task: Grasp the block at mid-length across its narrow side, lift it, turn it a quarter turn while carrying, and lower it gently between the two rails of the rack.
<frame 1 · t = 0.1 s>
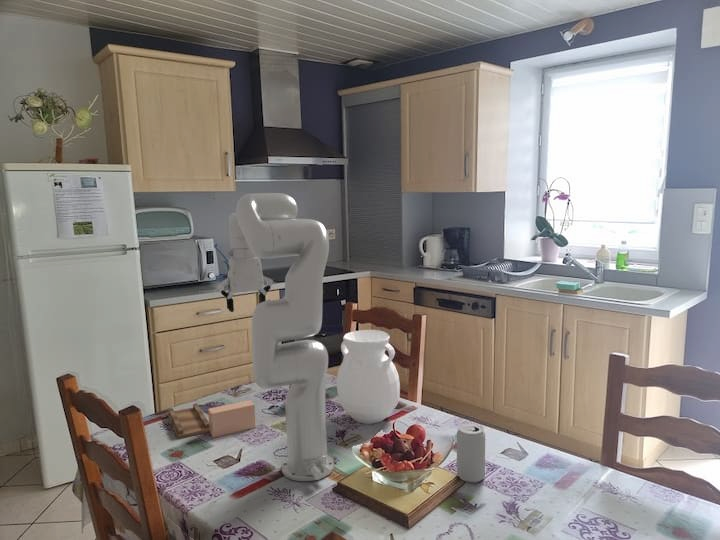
hand: (246, 309, 164), 31 cm above the table, fingers open, 9 cm apart
beverage can: (470, 477, 124), on the table
block: (232, 430, 152), on the table
tin: (302, 402, 171), on the table
rack: (188, 423, 157), on the table
white vase: (369, 418, 158), on the table
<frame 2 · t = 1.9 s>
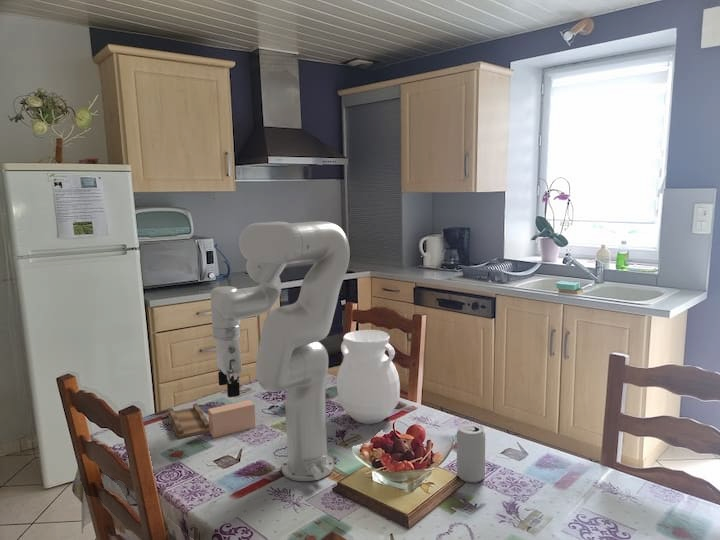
hand: (229, 390, 150), 12 cm above the table, fingers open, 9 cm apart
nothing on the table moved.
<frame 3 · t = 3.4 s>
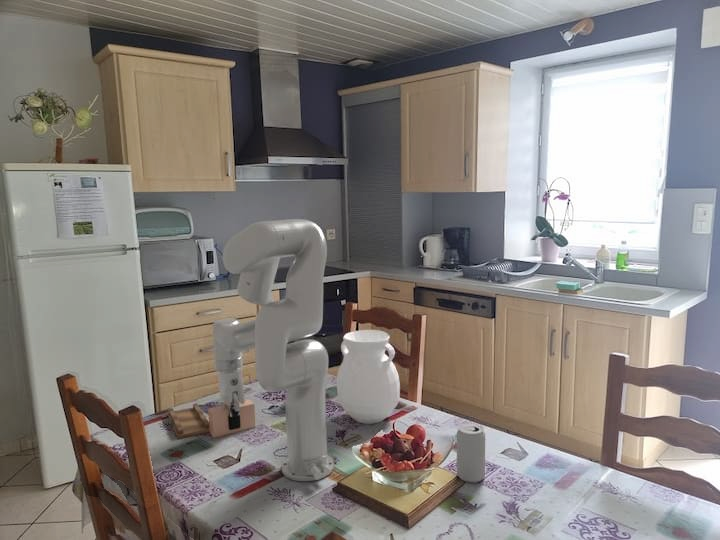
hand: (232, 424, 152), 1 cm above the table, fingers closed on block, 4 cm apart
block: (232, 429, 152), on the table, touching gripper
everything else where it was.
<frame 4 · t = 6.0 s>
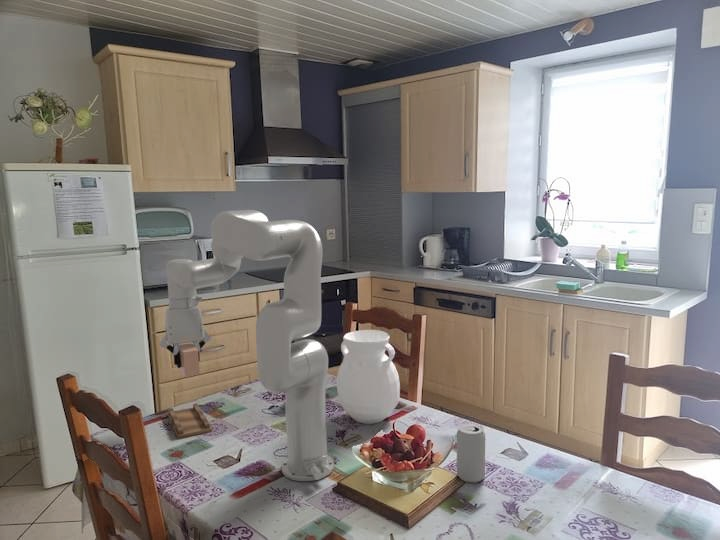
hand: (187, 364, 154), 18 cm above the table, fingers closed on block, 4 cm apart
block: (187, 369, 154), point 16 cm above the table, touching gripper
everything else where it was.
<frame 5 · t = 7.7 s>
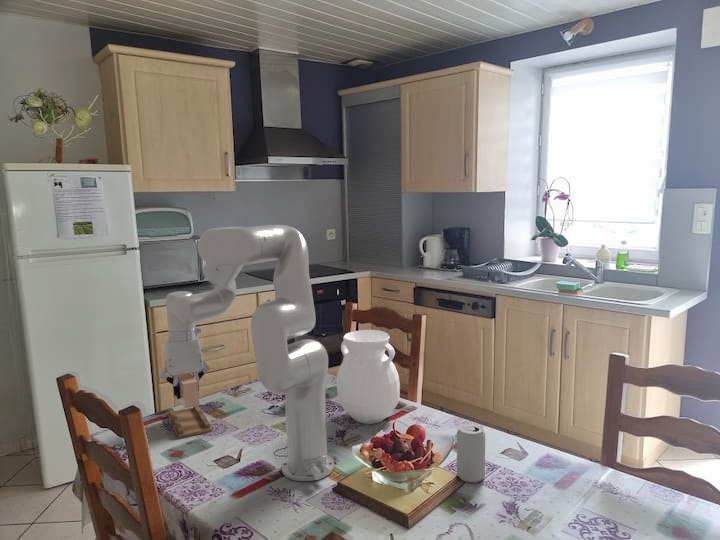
hand: (186, 395, 155), 9 cm above the table, fingers closed on block, 4 cm apart
block: (186, 399, 156), point 7 cm above the table, touching gripper
everything else where it was.
when the fingers open (5 cm above the table, at t = 8.8 s): block drops 2 cm, resting on rack.
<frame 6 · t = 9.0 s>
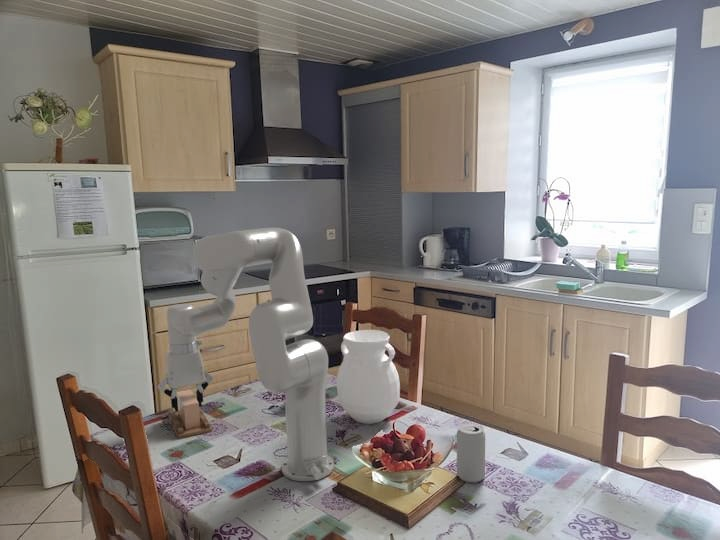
hand: (187, 406, 156), 5 cm above the table, fingers open, 6 cm apart
block: (189, 420, 156), point 1 cm above the table, touching rack
everything else where it was.
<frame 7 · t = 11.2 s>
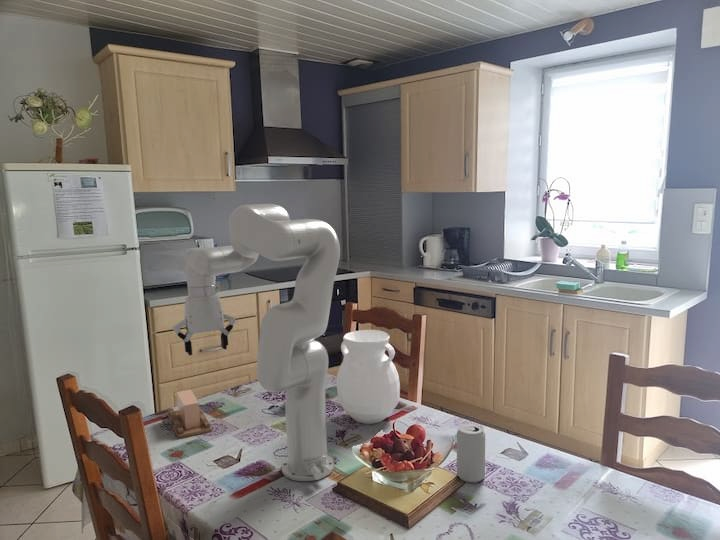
hand: (207, 351, 151), 22 cm above the table, fingers open, 9 cm apart
nothing on the table moved.
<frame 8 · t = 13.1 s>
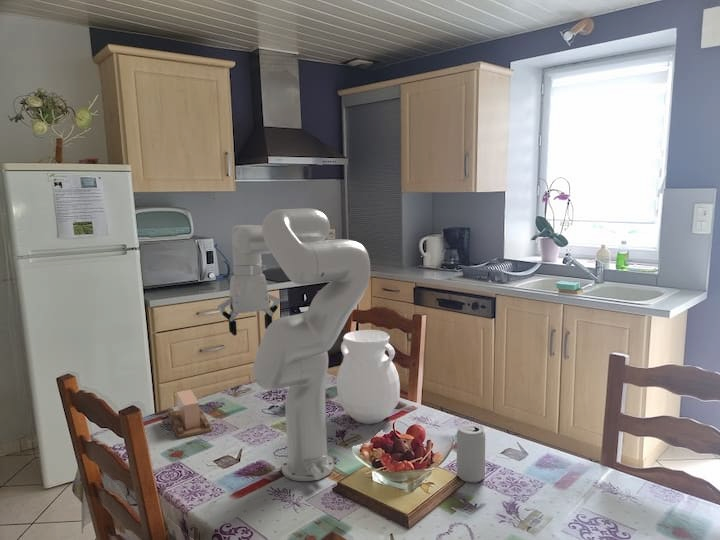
hand: (251, 331, 148), 28 cm above the table, fingers open, 9 cm apart
nothing on the table moved.
at the end: block inside the target area on the rack (0.1 cm from its centre), point 1.0 cm above the rack's base; block tilted 0°; the gripper is holding nothing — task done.
